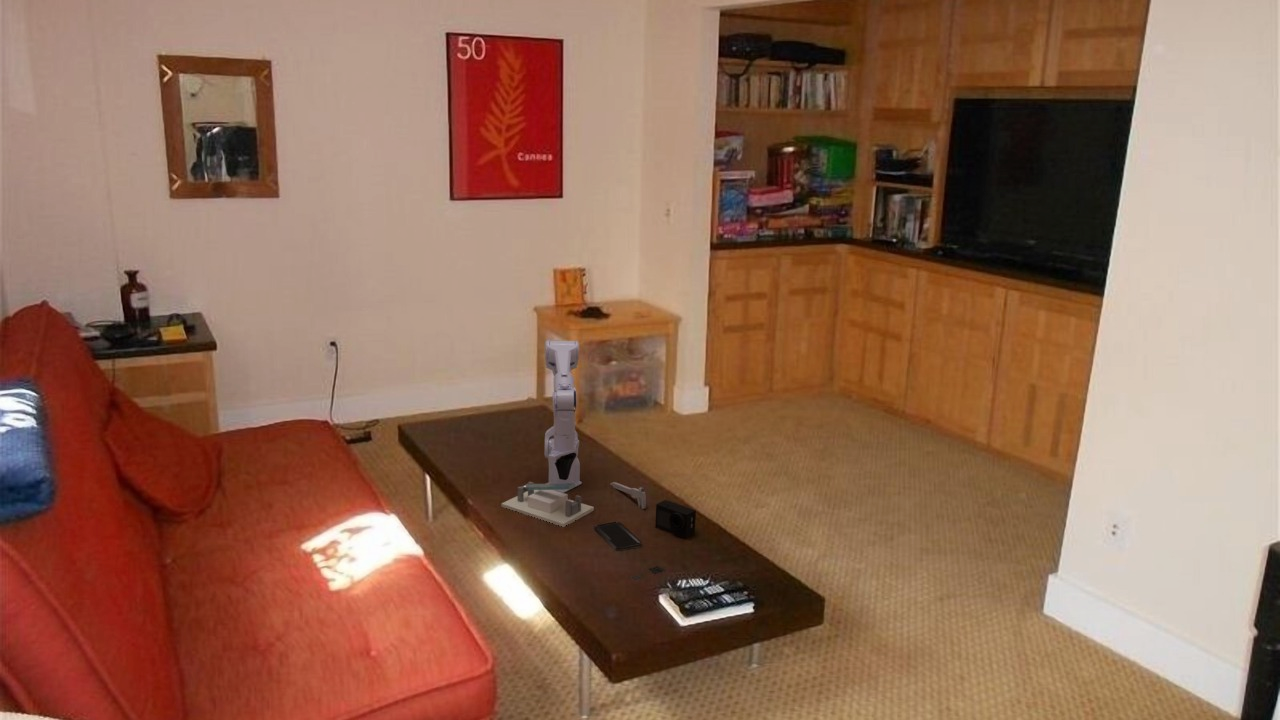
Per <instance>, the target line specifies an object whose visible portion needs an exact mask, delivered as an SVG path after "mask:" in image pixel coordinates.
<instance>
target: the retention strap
mask: <svg viewBox="0 0 1280 720" xmlns="http://www.w3.org/2000/svg"><path fill="white" fill-rule="evenodd" d="M521 487H523V488H524V491H528V490H568V491H570V490H572V489H574V488H576V487H575V483H569V484H546V483H534V484H529V483H528V482H527V483H526V484H525V485H522V486H521ZM573 487H574V488H573ZM571 488H572V489H571ZM569 489H570V490H569Z"/></svg>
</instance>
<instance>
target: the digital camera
mask: <svg viewBox="0 0 1280 720" xmlns="http://www.w3.org/2000/svg"><path fill="white" fill-rule="evenodd" d="M655 506H656V507H655V528H656V529H659V530H661V531H664V532H667V533H669V534H671V535H675V536H678V537H680V538H683V539H687V538H689V537H692V535H695V533H696V519H697V517H696V515H697V510H696V509H693V508H691V507H687V506H684V505H682V504H679V503H676V502H674V501H669V500H667V499H664V500H662V501H660V502H657V503H656V504H655Z"/></svg>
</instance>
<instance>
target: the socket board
mask: <svg viewBox="0 0 1280 720" xmlns="http://www.w3.org/2000/svg"><path fill="white" fill-rule="evenodd" d="M528 483H529V484H535V483H534V482H533V481H528V482H527V484H528ZM568 497H569V495H568V494H567V493H565V492H564V493H561V492H558V491H555V490H526V491H525V490H524V488H523V487H522V486H518V487H517V495H516V496H515V497H512V498H510V499H508V500H506V501H503V502H502V503H501V508H503V509H506V508H507V509H506V510H509V509H510V511H512V510H513V512H515V511H517V512H516V513H518V512H519V514H521V513H522V514H521V515H524V516H528V515H529V516H528V517H531V516H532V518H534V517H535V518H534V519H537V518H538V519H537V520H540V519H541V520H540V521H543V520H544V521H543V522H546V521H547V522H546V523H549V522H550V524H552V523H553V524H552V525H555V526H558V525H559V527H561V526H562V527H561V528H565V527H566V525H567V526H569V525H571V524H572V523H574V522H576V521H578V520H579V519H581V518H583V517H585V516H586V515H588V514H590V513H592V512H593V511H595V510H594V509H595V506H592V505H588V504H585V503H582V496H580V495H577V494H576V495H575V497H574V498H575V500H572V499H568ZM575 520H576V521H575ZM568 524H569V525H568Z"/></svg>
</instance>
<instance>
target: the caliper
mask: <svg viewBox="0 0 1280 720" xmlns="http://www.w3.org/2000/svg"><path fill="white" fill-rule="evenodd" d="M609 485H610V486H611V487H612V486H613V489H616V490H618V491H622V492H624V493H626V494H629V495H631V498H633V499H637V500H636V501H637V505H638V508H641V510H645V509H646V508H647V506H646V505H647V496H646V491H645V488H644V487H641V486H640V487H639V488H635V487H629V486H626V485H623V484H621V483H619V482H616V481H614V482H610V484H609Z"/></svg>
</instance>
